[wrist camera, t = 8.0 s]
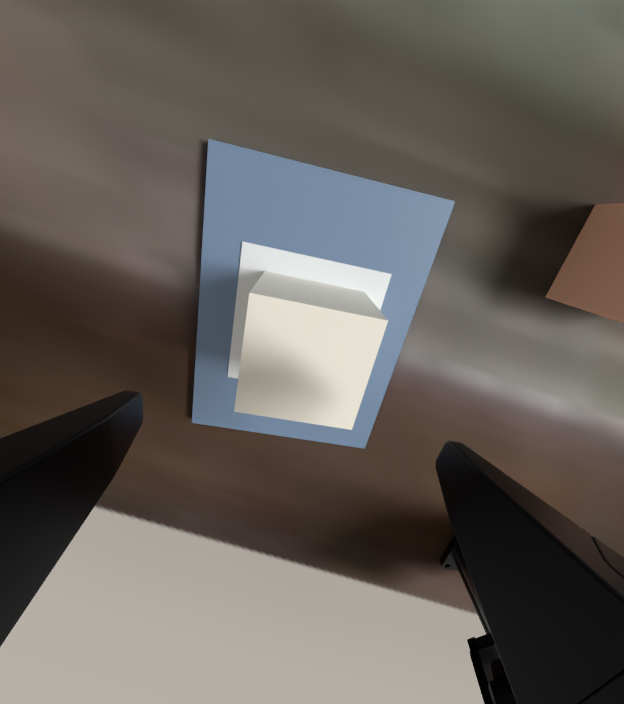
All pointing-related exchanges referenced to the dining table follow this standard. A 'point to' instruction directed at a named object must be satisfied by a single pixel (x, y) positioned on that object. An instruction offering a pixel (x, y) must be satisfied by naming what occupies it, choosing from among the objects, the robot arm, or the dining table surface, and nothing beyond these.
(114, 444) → the robot arm
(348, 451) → the dining table surface
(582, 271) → the terracotta block
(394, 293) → the board
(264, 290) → the cream block
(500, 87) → the dining table surface
